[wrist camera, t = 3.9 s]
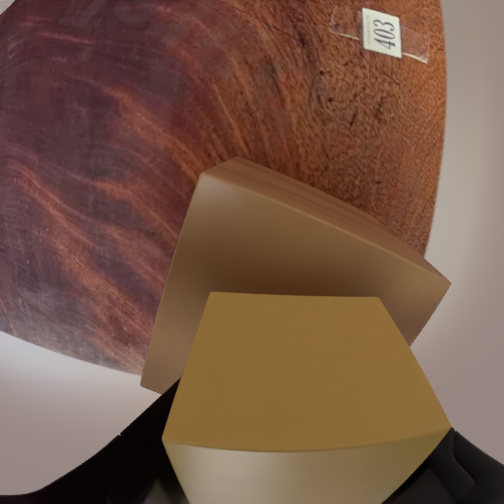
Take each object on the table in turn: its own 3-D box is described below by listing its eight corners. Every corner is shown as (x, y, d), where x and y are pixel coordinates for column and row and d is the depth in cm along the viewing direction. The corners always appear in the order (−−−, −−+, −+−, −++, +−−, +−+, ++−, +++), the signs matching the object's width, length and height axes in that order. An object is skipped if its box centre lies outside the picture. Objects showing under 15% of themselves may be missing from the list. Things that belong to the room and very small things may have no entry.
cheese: (337, 422, 8) (355, 525, 5) (218, 421, 8) (201, 527, 5) (378, 295, 7) (453, 426, 3) (209, 290, 7) (160, 439, 3)
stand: (308, 323, 19) (328, 438, 10) (190, 280, 18) (139, 386, 10) (367, 212, 16) (452, 283, 8) (236, 155, 15) (200, 171, 7)
